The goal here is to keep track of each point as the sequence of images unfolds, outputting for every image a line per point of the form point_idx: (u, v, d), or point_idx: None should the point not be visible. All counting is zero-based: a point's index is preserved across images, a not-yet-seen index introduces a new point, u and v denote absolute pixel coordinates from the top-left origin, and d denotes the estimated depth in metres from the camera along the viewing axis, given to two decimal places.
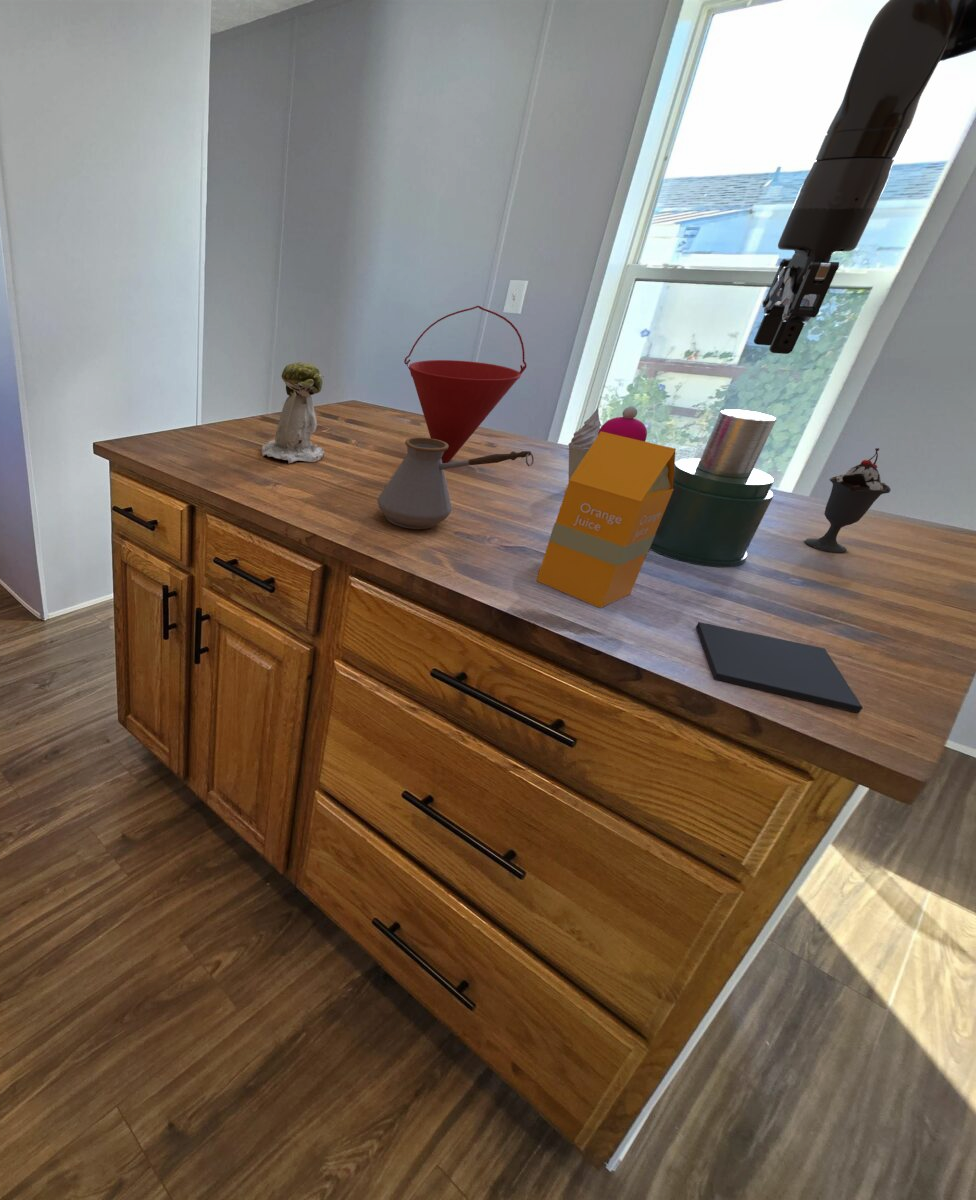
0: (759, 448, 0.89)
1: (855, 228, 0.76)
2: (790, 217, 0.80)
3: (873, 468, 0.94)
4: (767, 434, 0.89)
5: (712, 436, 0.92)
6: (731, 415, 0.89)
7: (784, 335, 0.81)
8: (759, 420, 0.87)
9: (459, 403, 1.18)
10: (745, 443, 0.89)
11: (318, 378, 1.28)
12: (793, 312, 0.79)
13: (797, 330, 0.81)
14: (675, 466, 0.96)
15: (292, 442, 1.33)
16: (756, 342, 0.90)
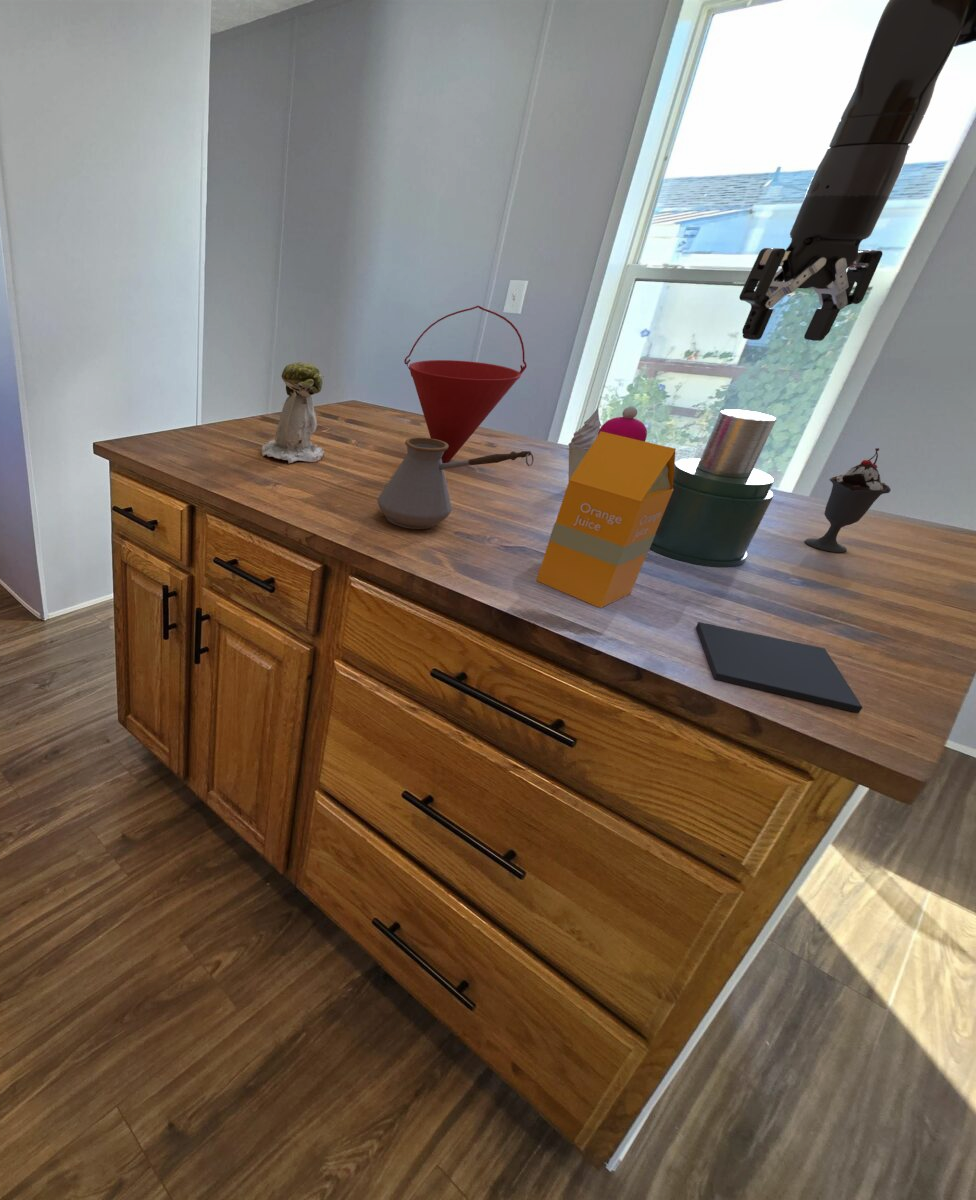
0: (759, 448, 0.89)
1: (828, 215, 0.76)
2: None
3: (873, 468, 0.94)
4: (767, 434, 0.89)
5: (712, 436, 0.92)
6: (731, 415, 0.89)
7: (747, 320, 0.84)
8: (759, 420, 0.87)
9: (460, 403, 1.18)
10: (745, 443, 0.89)
11: (318, 378, 1.28)
12: (740, 296, 0.83)
13: (756, 315, 0.83)
14: (675, 466, 0.96)
15: (292, 442, 1.33)
16: (805, 337, 0.86)
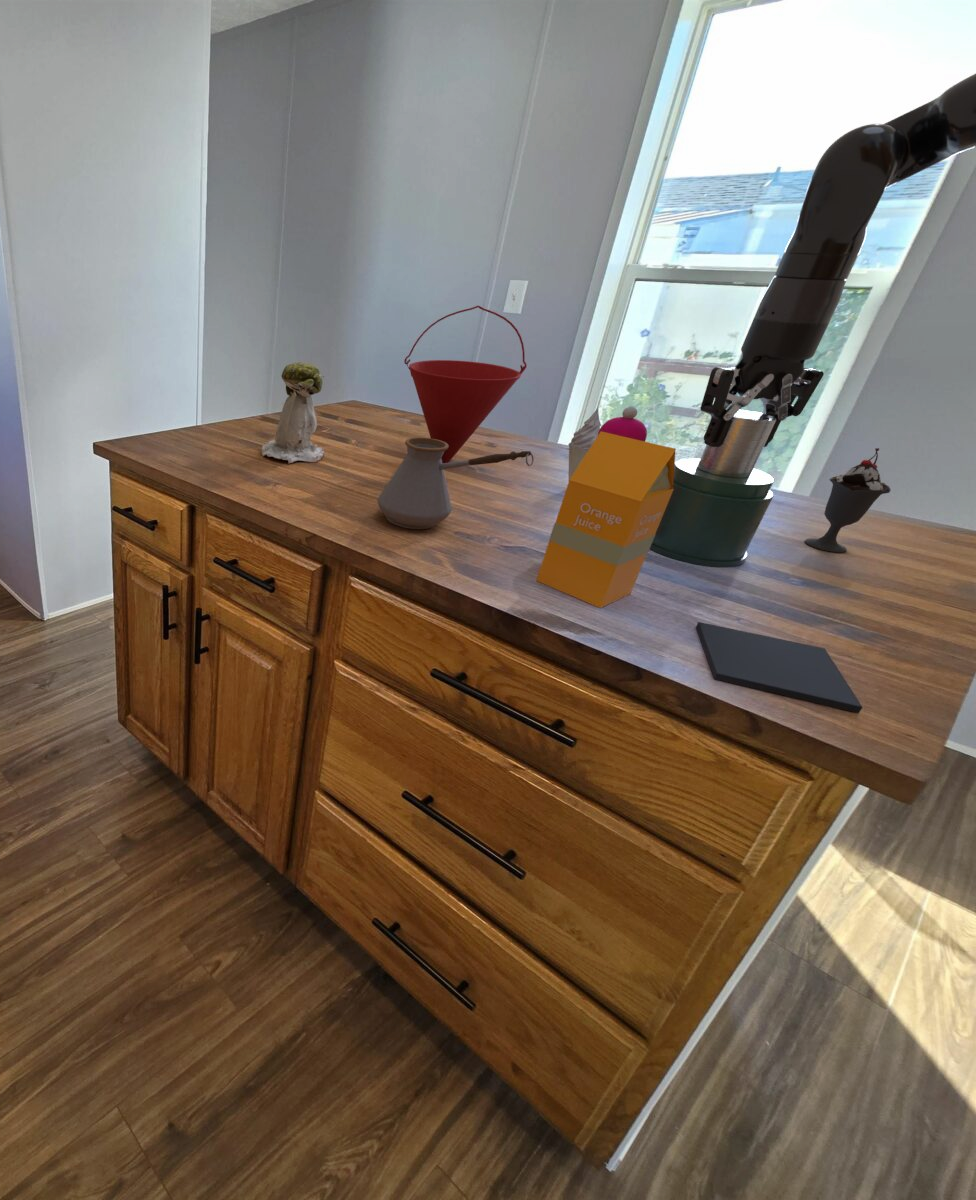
0: (759, 448, 0.89)
1: (774, 338, 0.83)
2: None
3: (873, 468, 0.94)
4: (767, 434, 0.89)
5: None
6: None
7: (708, 429, 0.91)
8: (759, 420, 0.87)
9: (460, 403, 1.18)
10: (745, 443, 0.89)
11: (318, 378, 1.28)
12: (701, 408, 0.90)
13: (715, 426, 0.90)
14: (675, 466, 0.96)
15: (292, 442, 1.33)
16: None
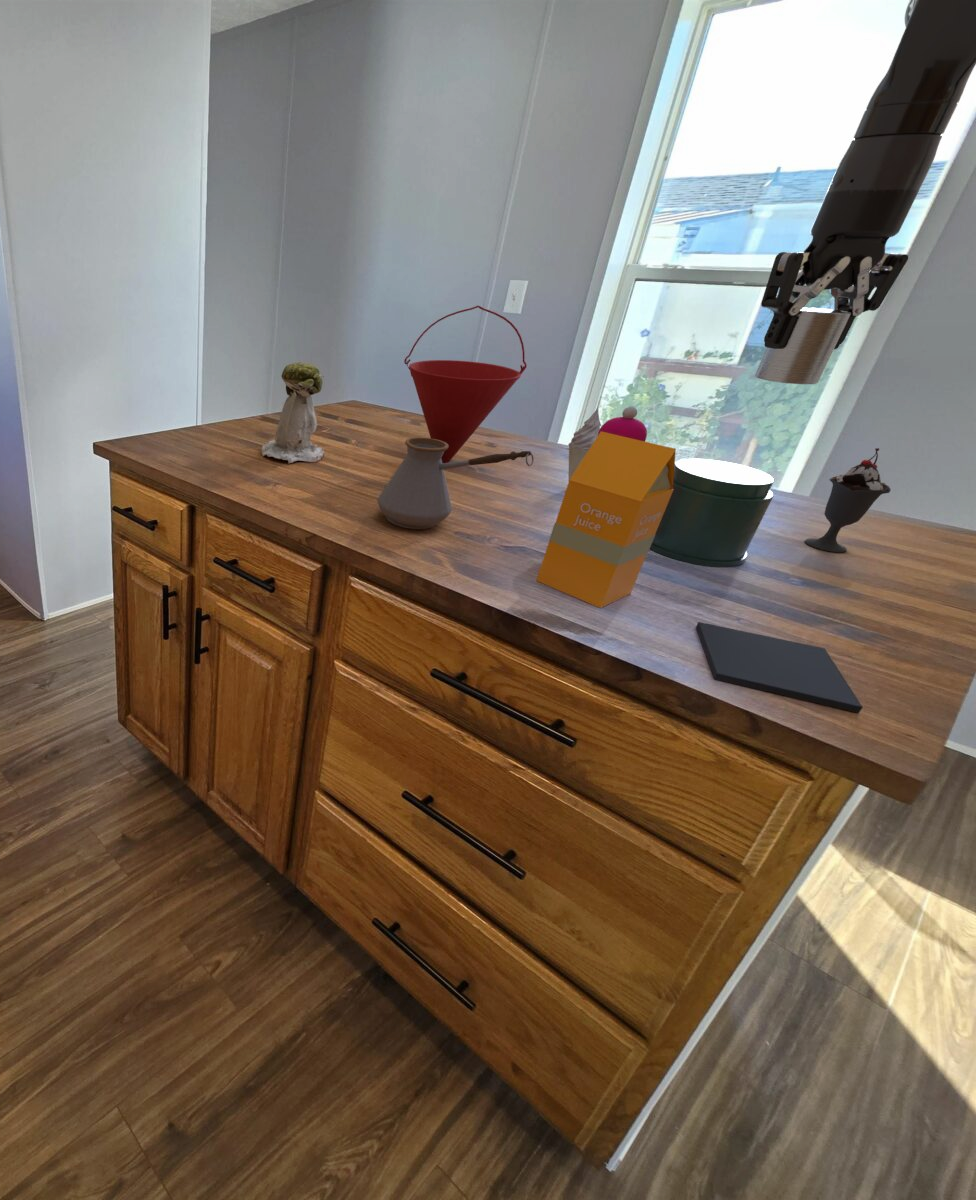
0: (830, 348, 0.78)
1: (853, 211, 0.71)
2: None
3: (873, 468, 0.94)
4: (840, 330, 0.77)
5: None
6: None
7: (769, 328, 0.80)
8: (831, 313, 0.76)
9: (460, 403, 1.18)
10: (814, 342, 0.77)
11: (318, 378, 1.28)
12: (762, 303, 0.79)
13: (779, 323, 0.78)
14: (675, 466, 0.96)
15: (292, 442, 1.33)
16: None
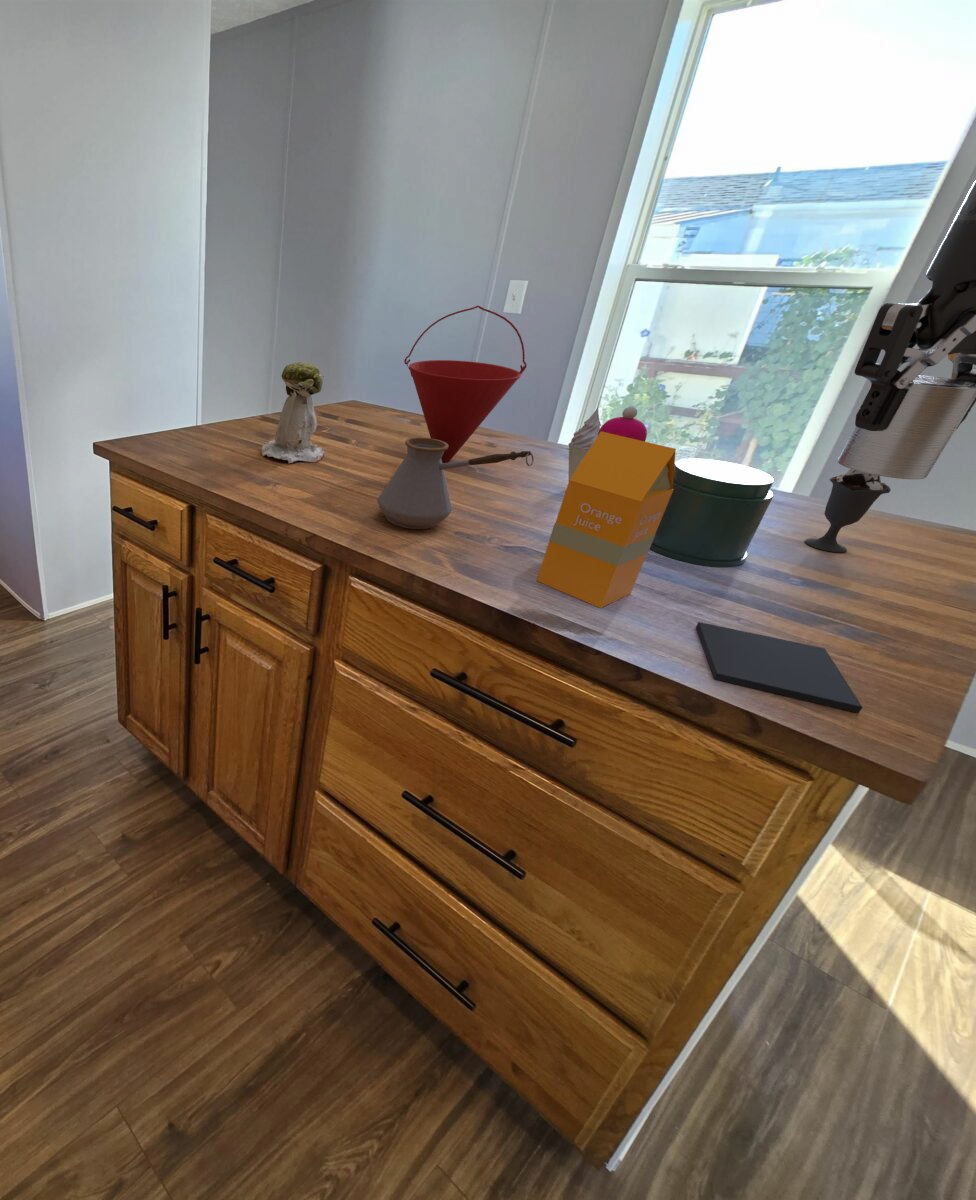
0: (950, 433, 0.57)
1: None
2: None
3: None
4: (965, 410, 0.56)
5: None
6: None
7: (864, 403, 0.59)
8: (956, 387, 0.55)
9: (460, 403, 1.18)
10: (929, 425, 0.56)
11: (318, 378, 1.28)
12: (857, 370, 0.58)
13: (879, 398, 0.57)
14: (675, 466, 0.96)
15: (292, 442, 1.33)
16: None
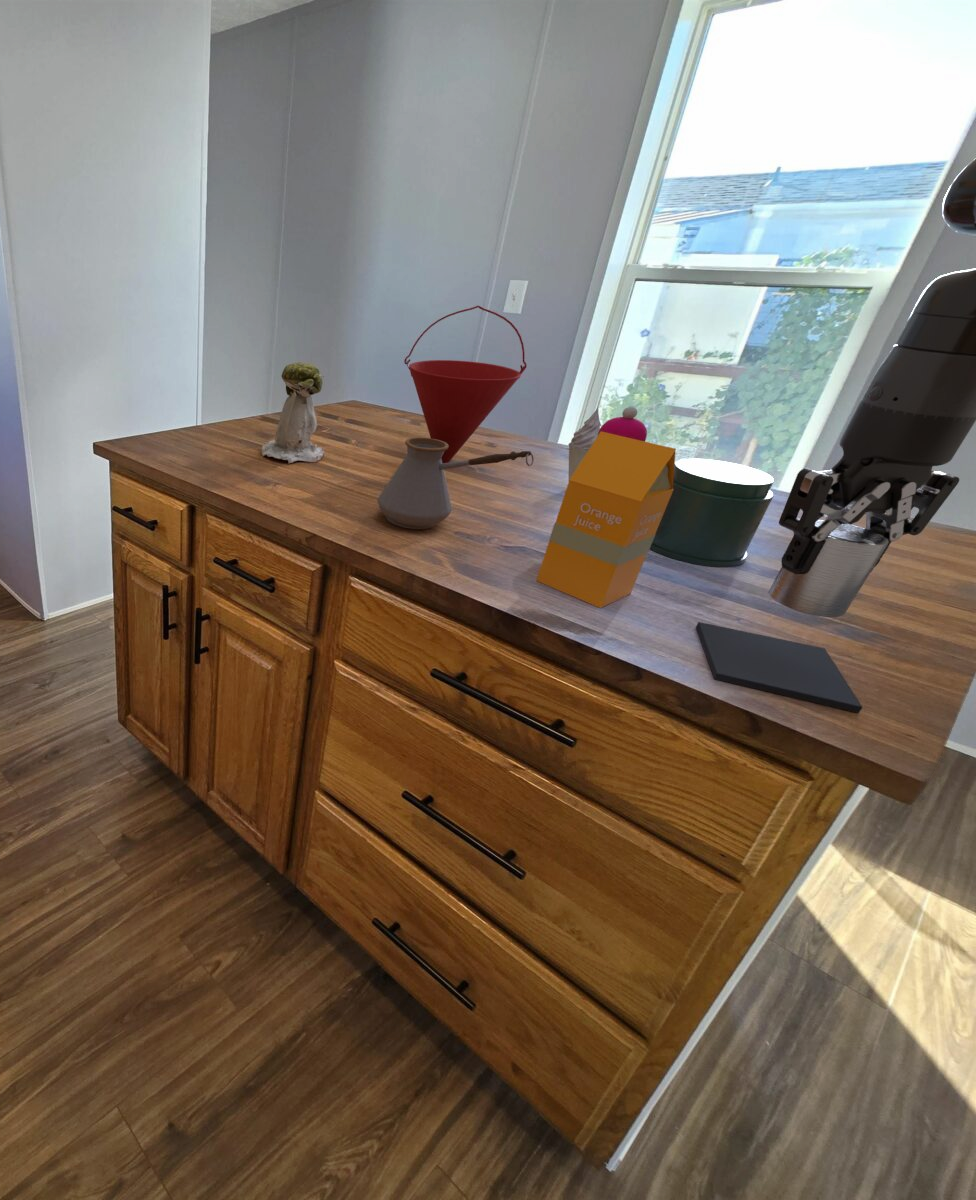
0: (862, 580, 0.64)
1: (896, 435, 0.57)
2: None
3: None
4: (875, 561, 0.63)
5: None
6: None
7: (788, 549, 0.65)
8: (865, 544, 0.62)
9: (459, 403, 1.18)
10: (843, 574, 0.63)
11: (318, 378, 1.28)
12: (780, 521, 0.65)
13: (800, 547, 0.64)
14: (675, 466, 0.96)
15: (292, 442, 1.33)
16: None
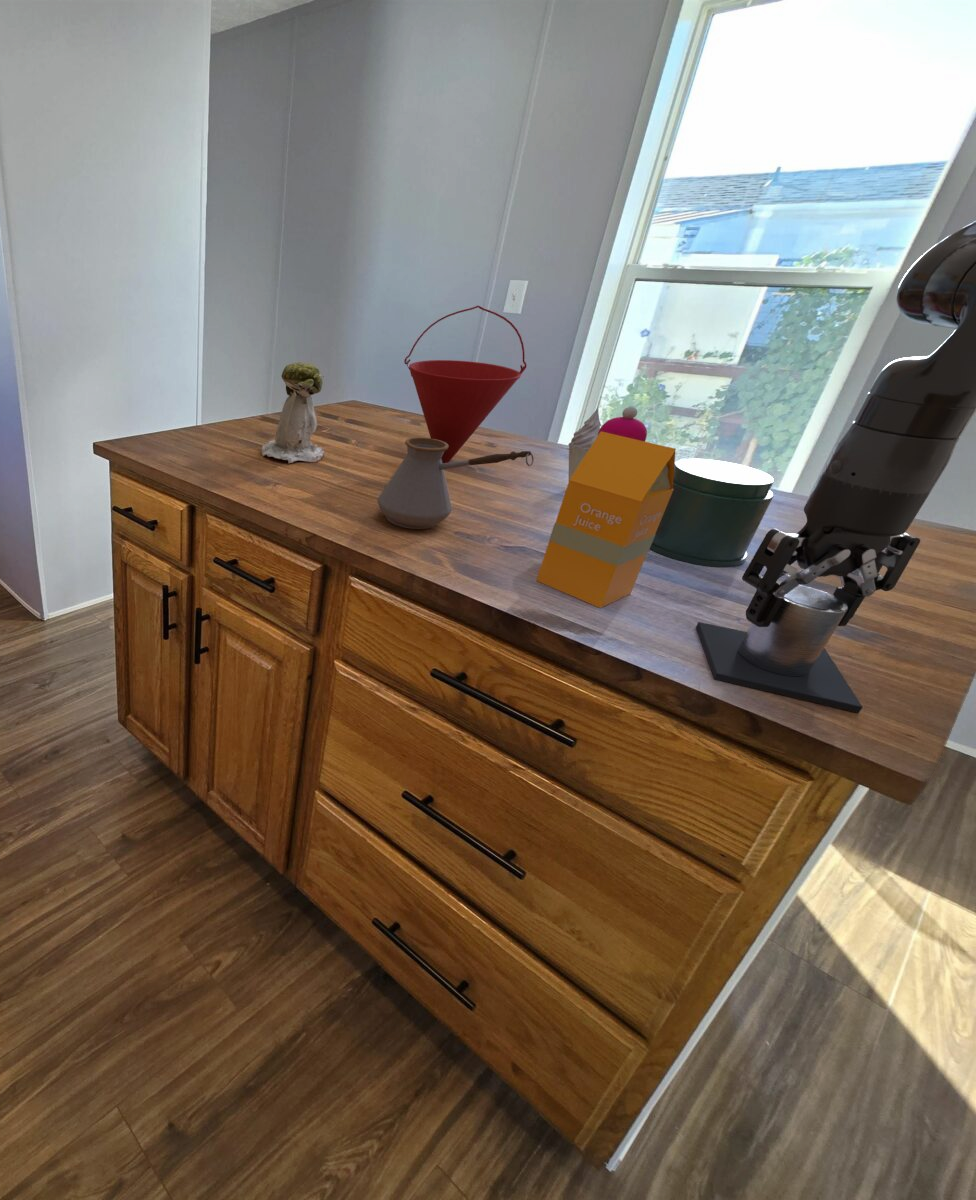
0: (823, 643, 0.67)
1: (854, 508, 0.61)
2: None
3: None
4: (835, 626, 0.67)
5: None
6: (786, 598, 0.67)
7: (751, 603, 0.69)
8: (826, 611, 0.65)
9: (460, 403, 1.18)
10: (805, 637, 0.67)
11: (318, 378, 1.28)
12: (743, 577, 0.68)
13: (762, 602, 0.67)
14: (675, 466, 0.96)
15: (292, 442, 1.33)
16: None
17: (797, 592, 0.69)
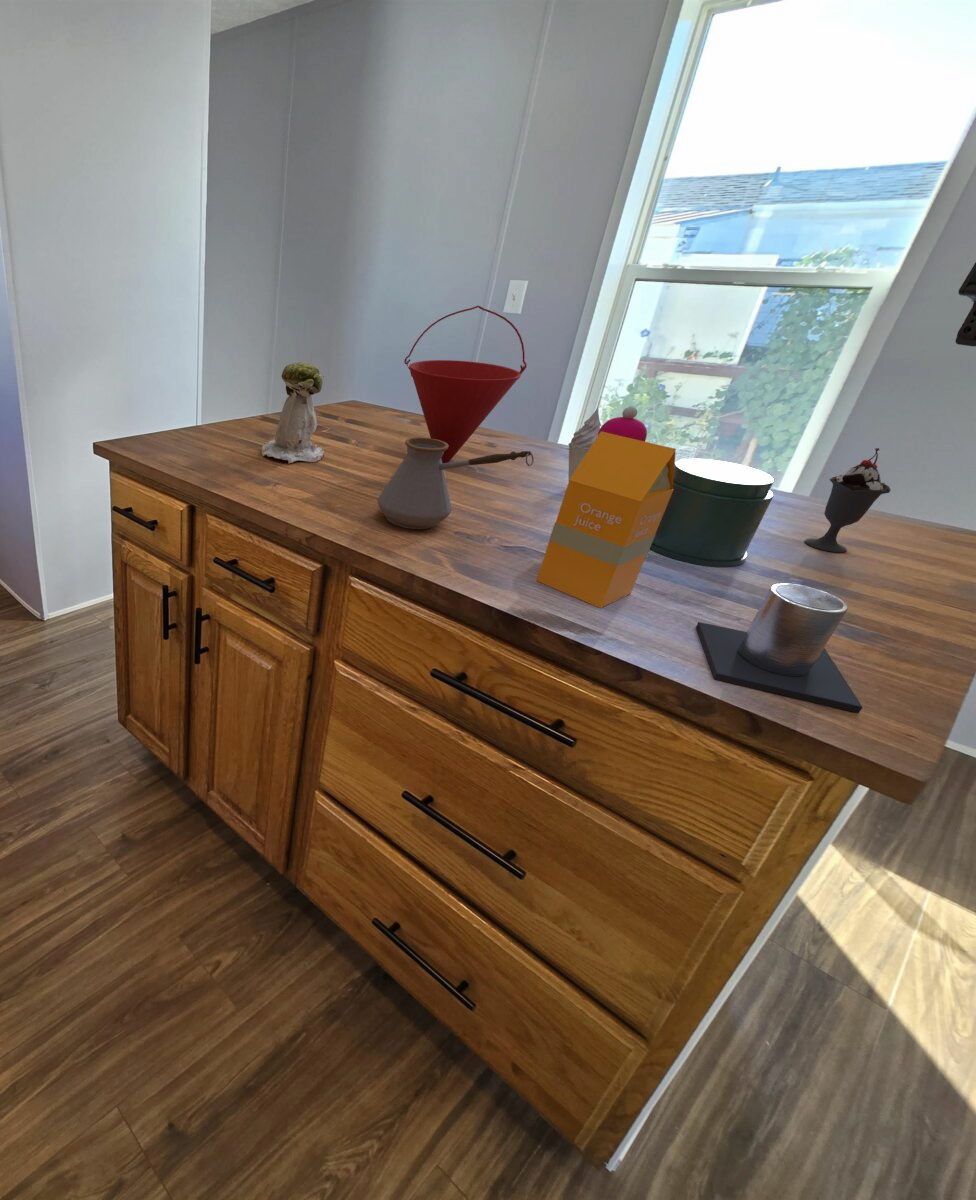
0: (823, 643, 0.67)
1: None
2: None
3: (873, 468, 0.94)
4: (835, 626, 0.67)
5: (759, 619, 0.70)
6: (786, 598, 0.67)
7: (966, 321, 0.65)
8: (826, 611, 0.65)
9: (460, 403, 1.18)
10: (805, 637, 0.67)
11: (318, 378, 1.28)
12: (961, 290, 0.64)
13: None
14: (675, 466, 0.96)
15: (292, 442, 1.33)
16: None
17: (797, 592, 0.69)
